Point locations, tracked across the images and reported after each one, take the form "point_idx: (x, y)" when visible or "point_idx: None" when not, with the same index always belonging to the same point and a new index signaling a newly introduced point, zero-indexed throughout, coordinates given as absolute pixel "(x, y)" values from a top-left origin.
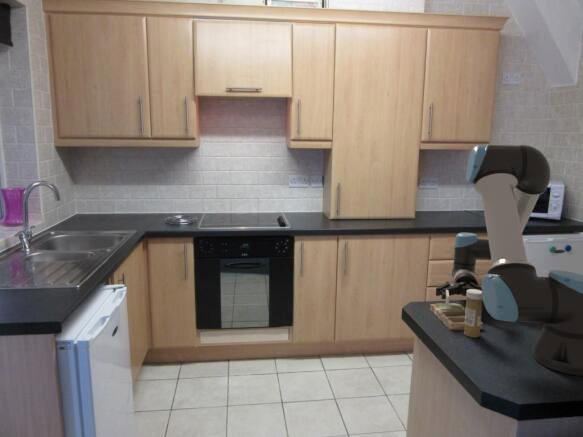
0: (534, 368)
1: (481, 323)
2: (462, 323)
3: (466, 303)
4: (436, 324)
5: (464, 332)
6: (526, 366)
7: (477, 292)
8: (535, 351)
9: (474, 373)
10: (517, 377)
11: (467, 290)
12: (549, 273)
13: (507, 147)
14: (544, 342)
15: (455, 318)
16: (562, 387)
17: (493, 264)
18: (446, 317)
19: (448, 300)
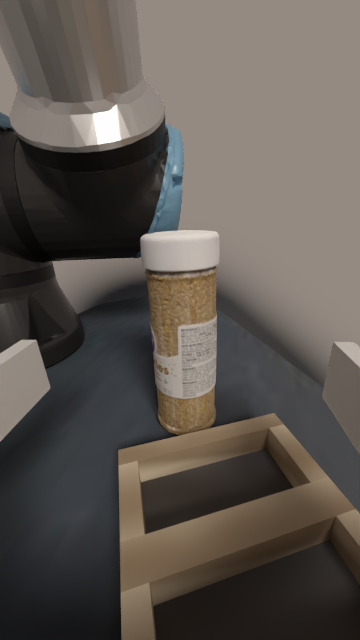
0: (106, 328)
1: (126, 450)
2: (222, 425)
3: (215, 297)
4: (357, 485)
5: (214, 405)
6: (116, 330)
7: (172, 231)
8: (77, 329)
9: None
10: (148, 313)
11: (216, 232)
12: (2, 118)
13: None
14: (66, 300)
15: (264, 500)
16: (100, 310)
17: (144, 80)
18: (320, 484)
19: (331, 369)
